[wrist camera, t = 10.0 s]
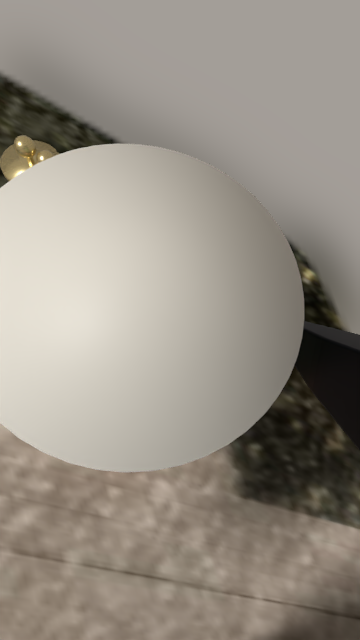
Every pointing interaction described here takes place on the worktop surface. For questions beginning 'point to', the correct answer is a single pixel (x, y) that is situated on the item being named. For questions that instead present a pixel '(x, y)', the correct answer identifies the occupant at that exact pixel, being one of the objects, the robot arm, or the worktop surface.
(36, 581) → the worktop surface
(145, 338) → the canister
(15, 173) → the balance
